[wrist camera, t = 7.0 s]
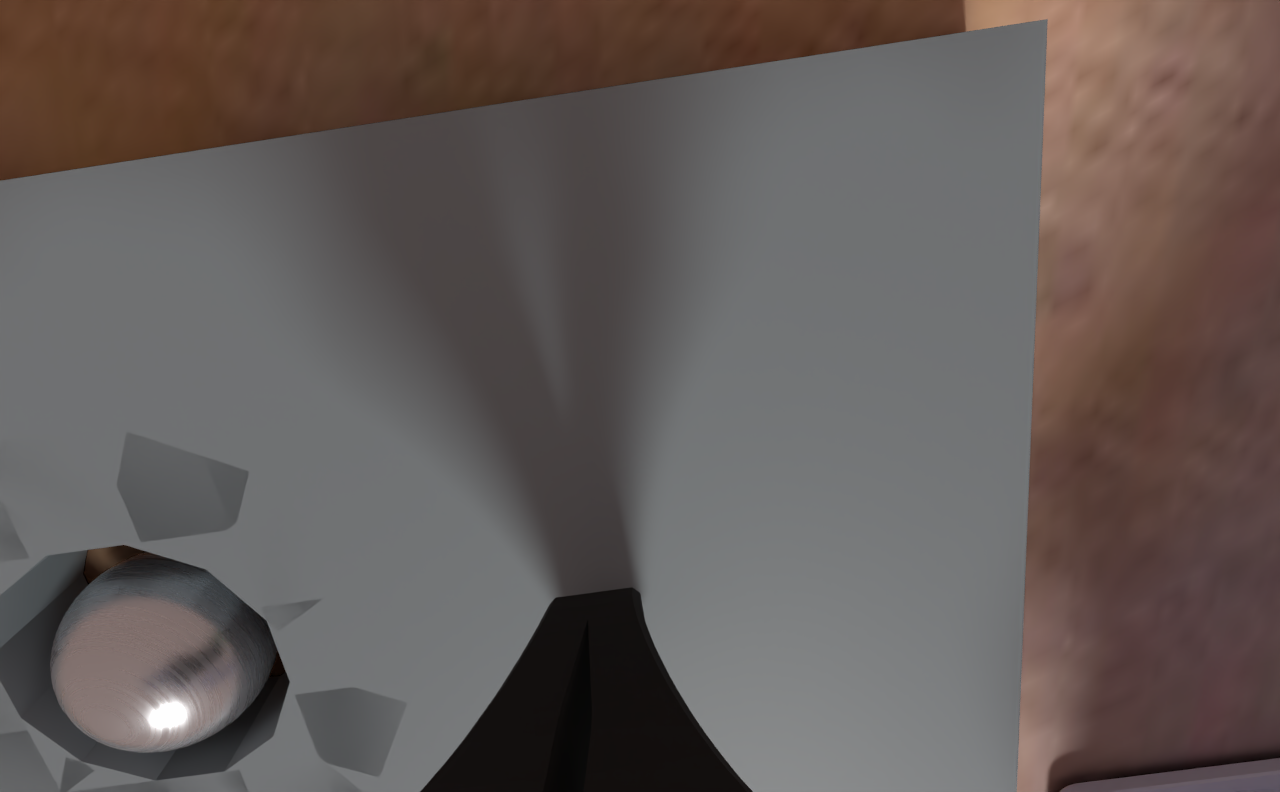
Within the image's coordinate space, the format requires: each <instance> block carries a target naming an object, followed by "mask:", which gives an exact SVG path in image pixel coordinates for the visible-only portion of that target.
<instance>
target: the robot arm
mask: <svg viewBox="0 0 1280 792" xmlns="http://www.w3.org/2000/svg"><path fill="white" fill-rule="evenodd" d="M420 792H753V791H752V790H751V789H750V788H749V787H748V786H747V785H746V784H745V782H744V781H743V780H742V779H741V778H740V777H739V776H738V774H737V773H736V772H735V771H734V769H733V768H732V767H731V766H730V765H729V763H728V762H727V761H726V760H725V758H724V757H723V756H722V755H721V753H720V752H719V751H718V749H717V748H716V747H715V745H714V744H713V743H712V741H711V740H710V739H709V737H708V736H707V735H706V733H705V732H704V730H703V729H702V727H701V726H700V725H699V723H698V722H697V720H696V719H695V717H694V716H693V714H692V712H691V711H690V709H689V708H688V706H687V704H686V703H685V701H684V700H683V698H682V696H681V695H680V693H679V691H678V690H677V688H676V686H675V684H674V683H673V681H672V679H671V677H670V675H669V673H668V671H667V669H666V667H665V666H664V664H663V662H662V660H661V658H660V656H659V654H658V652H657V649H656V647H655V645H654V643H653V640H652V638H651V635H650V633H649V630H648V627H647V625H646V622H645V617H644V611H643V606H642V600H641V594H640V592H638V591H637V590H636V589H634V588H633V587H630V588H623V589H615V590H608V591H601V592H593V593H586V594H578V595H571V596H564V597H556V598H555V599H554V600H553V601H552V602H551V603H550V605H549V606H548V608H547V610H546V612H545V614H544V616H543V618H542V619H541V621H540V623H539V625H538V627H537V628H536V630H535V632H534V634H533V636H532V637H531V639H530V641H529V642H528V644H527V646H526V648H525V649H524V651H523V653H522V654H521V656H520V658H519V659H518V661H517V662H516V664H515V666H514V667H513V669H512V670H511V672H510V674H509V675H508V677H507V678H506V680H505V681H504V683H503V685H502V686H501V688H500V689H499V691H498V692H497V694H496V695H495V697H494V698H493V700H492V701H491V702H490V704H489V705H488V707H487V708H486V709H485V711H484V712H483V714H482V715H481V716H480V718H479V719H478V721H477V722H476V723H475V725H474V726H473V727H472V729H471V730H470V732H469V733H468V734H467V736H466V737H465V738H464V740H463V741H462V742H461V744H460V745H459V746H458V747H457V749H456V750H455V751H454V752H453V754H452V755H451V756H450V757H449V759H448V760H447V761H446V762H445V763H444V765H443V766H442V767H441V768H440V769H439V770H438V772H437V773H436V774H435V775H434V776H433V777H432V779H431V780H430V781H429V782H428V783H427V784H426V786H425V787H424V788H423V789H422V790H421V791H420ZM1060 792H1280V758H1275V759H1267V760H1259V761H1251V762H1243V763H1235V764H1227V765H1219V766H1211V767H1203V768H1195V769H1187V770H1179V771H1171V772H1163V773H1155V774H1147V775H1139V776H1131V777H1123V778H1115V779H1107V780H1099V781H1091V782H1083V783H1075V784H1072V785H1068V786H1066V787H1065V788H1063V789H1061V791H1060Z"/></svg>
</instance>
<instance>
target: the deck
mask: <svg viewBox="0 0 1280 792" xmlns="http://www.w3.org/2000/svg"><path fill="white" fill-rule="evenodd" d="M1047 20H1048V19H1046V20H1040V21H1033V22H1027V23H1020V24H1014V25H1007V26H1001V27H994V28H988V29H981V30H975V31H968V32H962V33H955V34H949V35H942V36H936V37H930V38H923V39H917V40H910V41H904V42H897V43H891V44H884V45H878V46H871V47H865V48H858V49H852V50H845V51H839V52H832V53H826V54H819V55H813V56H806V57H800V58H793V59H787V60H780V61H774V62H767V63H761V64H754V65H748V66H741V67H735V68H728V69H722V70H715V71H709V72H703V73H696V74H690V75H683V76H677V77H670V78H664V79H657V80H651V81H644V82H638V83H631V84H625V85H618V86H612V87H605V88H599V89H592V90H586V91H579V92H573V93H566V94H560V95H553V96H547V97H540V98H534V99H527V100H521V101H514V102H508V103H501V104H495V105H488V106H482V107H476V108H469V109H463V110H456V111H450V112H443V113H437V114H430V115H424V116H417V117H411V118H404V119H398V120H391V121H385V122H378V123H372V124H365V125H359V126H352V127H346V128H339V129H333V130H326V131H320V132H313V133H307V134H300V135H294V136H287V137H281V138H274V139H268V140H262V141H255V142H249V143H242V144H236V145H229V146H223V147H216V148H210V149H203V150H197V151H190V152H184V153H177V154H171V155H164V156H158V157H151V158H145V159H138V160H132V161H125V162H119V163H112V164H106V165H99V166H93V167H86V168H80V169H73V170H67V171H60V172H54V173H47V174H41V175H35V176H28V177H22V178H15V179H9V180H2V181H0V792H420V791H421V790H422V789H423V788H424V787H425V786H426V784H427V783H428V782H429V781H430V780H431V779H432V777H433V776H434V775H435V774H436V773H437V772H438V770H439V769H440V768H441V767H442V766H443V765H444V763H445V762H446V761H447V760H448V759H449V757H450V756H451V755H452V754H453V752H454V751H455V750H456V749H457V747H458V746H459V745H460V744H461V742H462V741H463V740H464V738H465V737H466V736H467V734H468V733H469V732H470V730H471V729H472V727H473V726H474V725H475V723H476V722H477V721H478V719H479V718H480V716H481V715H482V714H483V712H484V711H485V709H486V708H487V707H488V705H489V704H490V702H491V701H492V700H493V698H494V697H495V695H496V694H497V692H498V691H499V689H500V688H501V686H502V685H503V683H504V681H505V680H506V678H507V677H508V675H509V674H510V672H511V670H512V669H513V667H514V666H515V664H516V662H517V661H518V659H519V658H520V656H521V654H522V653H523V651H524V649H525V648H526V646H527V644H528V642H529V641H530V639H531V637H532V636H533V634H534V632H535V630H536V628H537V627H538V625H539V623H540V621H541V619H542V618H543V616H544V614H545V612H546V610H547V608H548V606H549V605H550V603H551V602H552V601H553V600H554V599H555V598H556V597H564V596H571V595H578V594H586V593H593V592H601V591H608V590H615V589H623V588H630V587H633V588H634V589H636V590H637V591H638V592H640V594H641V600H642V606H643V611H644V617H645V622H646V625H647V627H648V630H649V633H650V635H651V638H652V640H653V643H654V645H655V647H656V649H657V652H658V654H659V656H660V658H661V660H662V662H663V664H664V666H665V667H666V669H667V671H668V673H669V675H670V677H671V679H672V681H673V683H674V684H675V686H676V688H677V690H678V691H679V693H680V695H681V696H682V698H683V700H684V701H685V703H686V704H687V706H688V708H689V709H690V711H691V712H692V714H693V716H694V717H695V719H696V720H697V722H698V723H699V725H700V726H701V727H702V729H703V730H704V732H705V733H706V735H707V736H708V737H709V739H710V740H711V741H712V743H713V744H714V745H715V747H716V748H717V749H718V751H719V752H720V753H721V755H722V756H723V757H724V758H725V760H726V761H727V762H728V763H729V765H730V766H731V767H732V768H733V769H734V771H735V772H736V773H737V774H738V776H739V777H740V778H741V779H742V780H743V781H744V782H745V784H746V785H747V786H748V787H749V788H750V789H751V790H752V791H753V792H1017V769H1018V744H1019V719H1020V694H1021V669H1022V644H1023V619H1024V594H1025V569H1026V544H1027V519H1028V494H1029V469H1030V444H1031V419H1032V394H1033V369H1034V344H1035V319H1036V294H1037V269H1038V244H1039V220H1040V195H1041V170H1042V145H1043V120H1044V95H1045V70H1046V45H1047ZM119 545H127V546H130V547H133V548H136V549H140V550H143V551H146V552H150V553H153V554H156V555H160V556H163V557H166V558H170V559H173V560H176V561H180V562H183V563H186V564H189V565H193V566H196V567H199V568H203V569H206V570H207V571H208V572H210V573H211V574H212V575H213V576H214V577H216V578H217V579H218V580H219V581H220V582H221V583H223V584H224V585H225V586H226V587H227V588H228V589H230V590H231V591H232V592H233V593H234V594H236V595H237V596H238V597H239V598H240V599H241V600H243V601H244V602H245V603H246V604H247V605H248V606H250V607H251V608H252V609H253V610H254V611H256V612H257V613H258V614H259V615H260V616H261V617H263V618H264V619H265V620H266V621H267V623H268V626H269V628H270V631H271V634H272V636H273V639H274V642H275V644H276V647H277V649H278V652H279V655H280V657H281V660H282V663H283V665H284V668H285V671H286V672H285V673H284V674H282V675H281V676H277V677H270V678H268V679H267V681H266V683H265V685H264V687H263V688H262V690H261V691H260V693H259V694H258V696H257V697H256V698H255V700H254V701H253V702H252V704H251V705H250V706H249V707H248V708H247V709H246V710H245V711H244V712H243V713H242V714H241V715H240V716H239V717H238V718H237V719H235V720H234V721H233V722H232V723H230V724H229V725H228V726H226V727H225V728H223V729H222V730H221V731H219V732H217V733H215V734H214V735H212V736H210V737H208V738H206V739H204V740H202V741H200V742H197V743H195V744H192V745H189V746H186V747H183V748H179V749H175V750H170V751H164V752H151V753H139V752H131V751H124V750H119V749H115V748H112V747H109V746H106V745H104V744H102V743H99V742H97V741H96V740H94V739H92V738H90V737H89V736H87V735H86V734H84V733H83V732H82V731H80V730H79V729H78V728H77V727H76V726H75V725H74V724H73V723H72V722H71V721H70V719H69V718H68V717H67V715H66V714H65V713H64V711H63V710H62V708H61V706H60V705H59V703H58V700H57V698H56V695H55V692H54V689H53V685H52V680H51V671H50V662H51V652H52V646H53V642H54V638H55V635H56V632H57V630H58V627H59V625H60V623H61V621H62V619H63V616H64V615H65V613H66V612H67V610H68V609H69V607H70V606H71V604H72V603H73V601H74V600H75V599H76V597H77V596H78V595H79V594H80V593H81V592H82V591H83V590H84V589H85V588H86V587H87V586H88V583H87V581H86V579H85V577H84V575H83V572H84V566H85V560H86V555H87V550H91V549H98V548H105V547H112V546H119Z"/></svg>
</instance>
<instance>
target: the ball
mask: <svg viewBox="0 0 1280 792" xmlns="http://www.w3.org/2000/svg"><path fill="white" fill-rule="evenodd" d="M276 654H277V647H276V644H275V642H274V639H273V636H272V634H271V631H270V628H269V626H268V623H267V621H266V620H265V619H264V618H263V617H261V616H260V615H259V614H258V613H257V612H256V611H254V610H253V609H252V608H251V607H250V606H248V605H247V604H246V603H245V602H244V601H243V600H241V599H240V598H239V597H238V596H237V595H236V594H234V593H233V592H232V591H231V590H230V589H228V588H227V587H226V586H225V585H224V584H223V583H221V582H220V581H219V580H218V579H217V578H216V577H214V576H213V575H212V574H211V573H210V572H208V571H207V570H206V569H203V568H199V567H196V566H193V565H189V564H186V563H183V562H180V561H176V560H173V559H170V558H166V557H163V556H160V555H156V554H153V553H150V552H145V553H141V554H138V555H136V556H133V557H131V558H129V559H126V560H124V561H122V562H120V563H118V564H116V565H115V566H113V567H111V568H110V569H108V570H107V571H105V572H104V573H102V574H101V575H99V576H98V577H97V578H96V579H94V580H93V581H92V582H91V583H90V584H89V585H88V586H87V587H86V588H85V589H84V590H83V591H82V592H81V593H80V594H79V595H78V596H77V597H76V599H75V600H74V601H73V603H72V604H71V606H70V607H69V609H68V610H67V612H66V613H65V615H64V616H63V619H62V621H61V623H60V625H59V627H58V630H57V632H56V635H55V638H54V642H53V646H52V652H51V662H50V671H51V680H52V685H53V689H54V692H55V695H56V698H57V700H58V703H59V705H60V706H61V708H62V710H63V711H64V713H65V714H66V715H67V717H68V718H69V719H70V721H71V722H72V723H73V724H74V725H75V726H76V727H77V728H78V729H79V730H80V731H82V732H83V733H84V734H86V735H87V736H89V737H90V738H92V739H94V740H96V741H97V742H99V743H102V744H104V745H106V746H109V747H112V748H115V749H119V750H124V751H131V752H139V753H151V752H164V751H170V750H175V749H179V748H183V747H186V746H189V745H192V744H195V743H197V742H200V741H202V740H204V739H206V738H208V737H210V736H212V735H214V734H215V733H217V732H219V731H221V730H222V729H223V728H225V727H226V726H228V725H229V724H230V723H232V722H233V721H234V720H235V719H237V718H238V717H239V716H240V715H241V714H242V713H243V712H244V711H245V710H246V709H247V708H248V707H249V706H250V705H251V704H252V702H253V701H254V700H255V698H256V697H257V696H258V694H259V693H260V691H261V690H262V688H263V687H264V685H265V683H266V681H267V679H268V678H269V675H270V673H271V670H272V667H273V665H274V662H275V659H276Z"/></svg>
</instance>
